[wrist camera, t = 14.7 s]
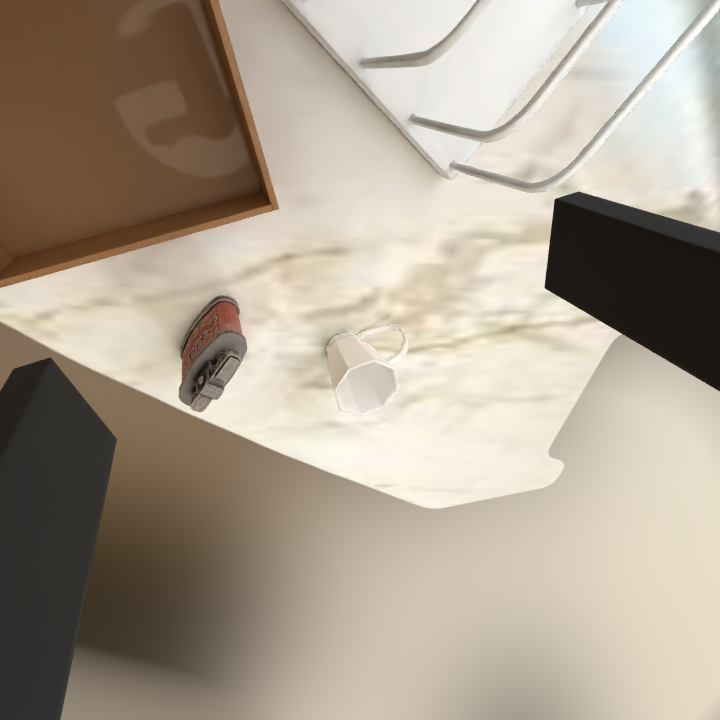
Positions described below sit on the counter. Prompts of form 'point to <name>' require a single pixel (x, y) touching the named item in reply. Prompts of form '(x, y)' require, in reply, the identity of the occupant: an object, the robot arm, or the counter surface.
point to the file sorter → (466, 67)
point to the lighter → (211, 353)
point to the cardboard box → (119, 130)
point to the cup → (363, 371)
